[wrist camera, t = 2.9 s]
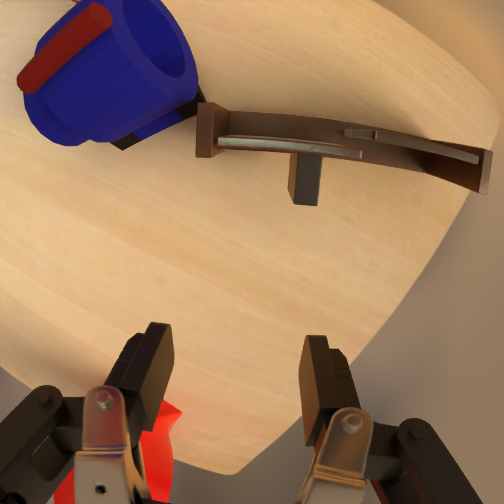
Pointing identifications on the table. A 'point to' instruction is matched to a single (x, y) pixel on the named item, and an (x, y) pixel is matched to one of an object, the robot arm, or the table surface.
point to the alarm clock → (111, 74)
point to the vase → (154, 458)
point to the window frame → (349, 143)
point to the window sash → (296, 161)
